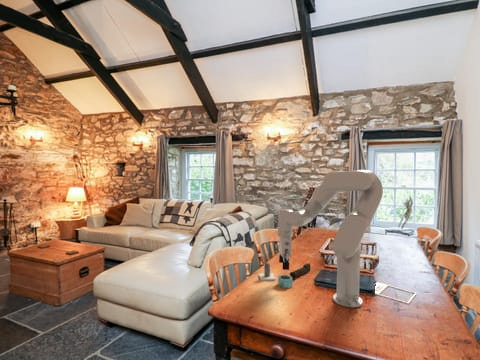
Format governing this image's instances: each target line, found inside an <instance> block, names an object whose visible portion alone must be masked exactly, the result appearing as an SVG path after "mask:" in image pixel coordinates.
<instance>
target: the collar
mask: <svg viewBox="0 0 480 360" xmlns="http://www.w3.org/2000/svg"><path fill="white" fill-rule="evenodd" d="M293 280H294V279H293V278H292V277H291V276H290V274H289V275H288V274H279V275H278V276H277V285H278V288H279V287H280V288H282V289H290V288H292V287H293V282H294V281H293Z"/></svg>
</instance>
